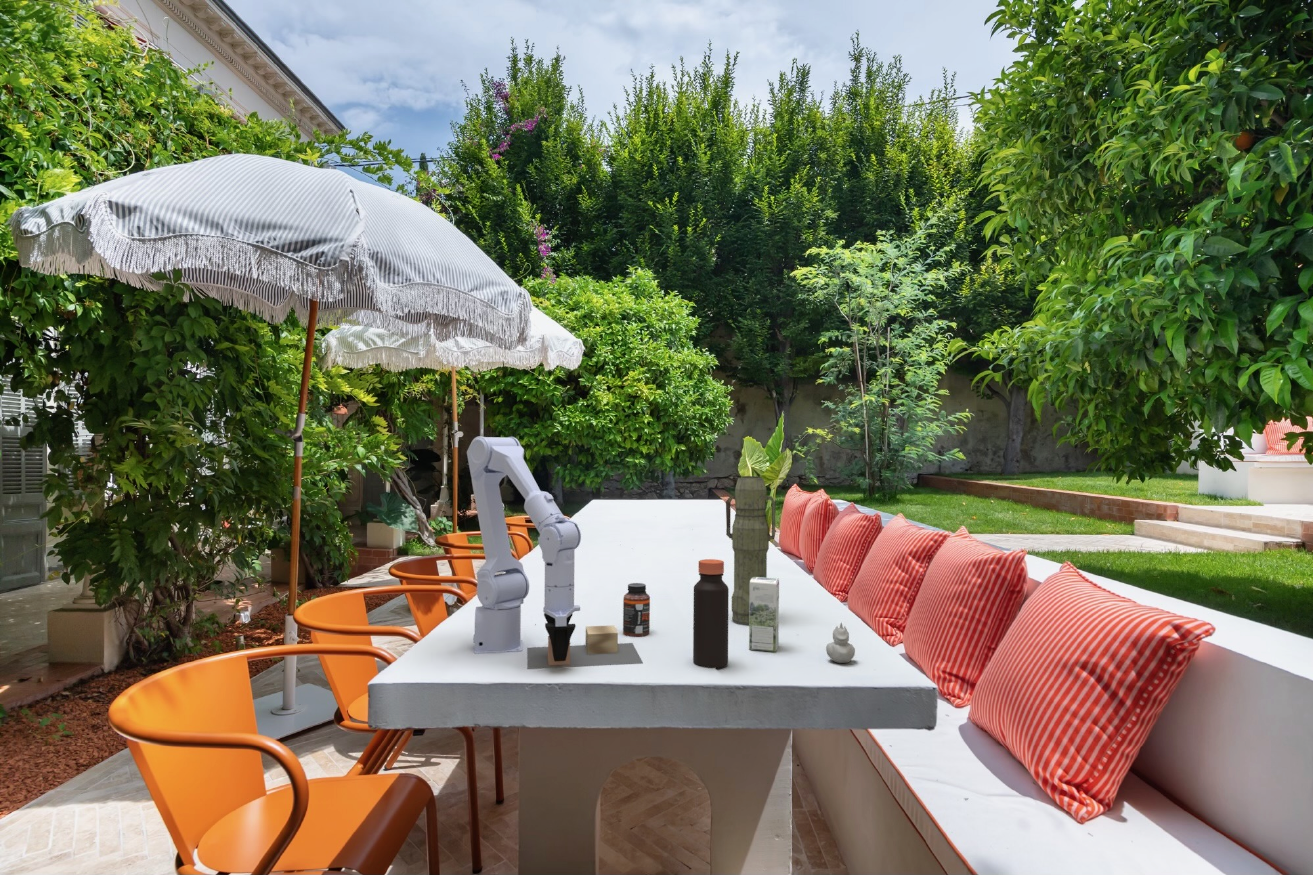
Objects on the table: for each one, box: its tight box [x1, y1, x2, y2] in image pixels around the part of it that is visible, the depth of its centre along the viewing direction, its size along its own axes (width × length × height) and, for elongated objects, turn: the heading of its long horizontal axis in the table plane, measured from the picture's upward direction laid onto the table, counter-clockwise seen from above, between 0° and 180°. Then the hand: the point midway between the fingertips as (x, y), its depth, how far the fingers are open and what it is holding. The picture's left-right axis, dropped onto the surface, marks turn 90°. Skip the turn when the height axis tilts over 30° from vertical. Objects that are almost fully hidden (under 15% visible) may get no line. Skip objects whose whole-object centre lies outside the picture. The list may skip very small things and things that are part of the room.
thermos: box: [725, 475, 776, 627], centre depth 170 cm, size 9×12×35 cm
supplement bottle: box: [622, 582, 651, 638], centre depth 157 cm, size 6×6×11 cm
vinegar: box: [692, 558, 729, 670], centre depth 137 cm, size 7×7×20 cm
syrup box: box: [748, 577, 780, 653], centre depth 148 cm, size 6×6×14 cm
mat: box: [526, 642, 644, 670], centre depth 140 cm, size 22×14×1 cm, turn 100°
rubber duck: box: [825, 621, 856, 664], centre depth 139 cm, size 5×7×8 cm
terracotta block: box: [547, 635, 571, 665], centre depth 136 cm, size 4×4×4 cm
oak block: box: [585, 625, 619, 654], centre depth 145 cm, size 6×6×4 cm
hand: (559, 654), depth 136 cm, fingers open, 7 cm apart
